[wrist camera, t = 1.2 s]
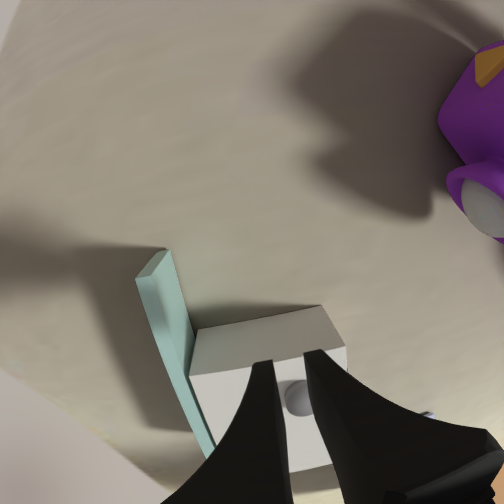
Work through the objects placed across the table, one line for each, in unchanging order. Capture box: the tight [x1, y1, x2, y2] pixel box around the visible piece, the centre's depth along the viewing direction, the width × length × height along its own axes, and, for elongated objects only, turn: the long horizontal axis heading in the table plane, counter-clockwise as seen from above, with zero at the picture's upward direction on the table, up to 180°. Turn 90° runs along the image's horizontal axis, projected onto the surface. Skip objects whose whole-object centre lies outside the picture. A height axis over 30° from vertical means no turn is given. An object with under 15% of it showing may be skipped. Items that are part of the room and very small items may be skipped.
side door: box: [135, 249, 217, 459], centre depth 18 cm, size 16×1×5 cm, turn 11°
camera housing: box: [189, 305, 348, 473], centre depth 19 cm, size 11×8×6 cm
